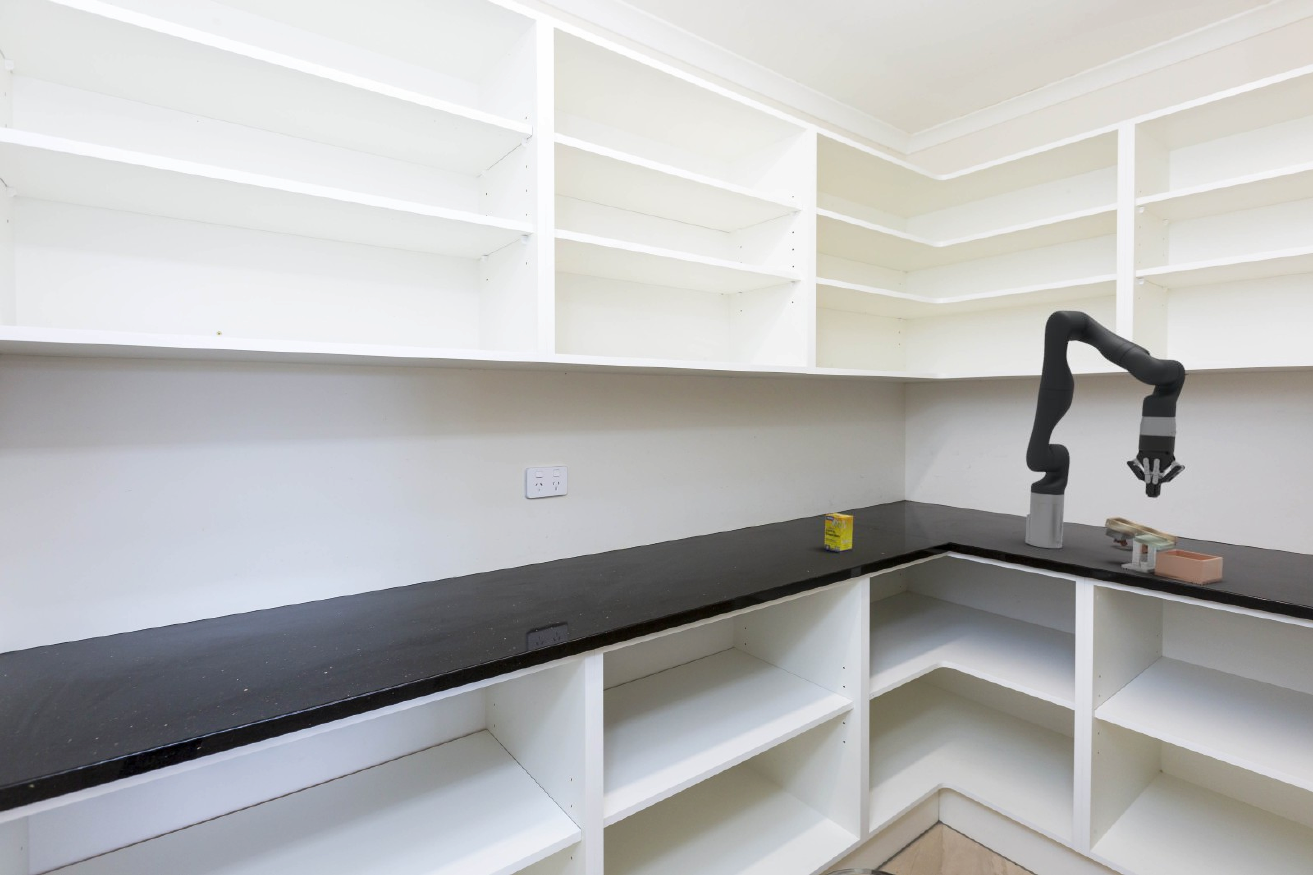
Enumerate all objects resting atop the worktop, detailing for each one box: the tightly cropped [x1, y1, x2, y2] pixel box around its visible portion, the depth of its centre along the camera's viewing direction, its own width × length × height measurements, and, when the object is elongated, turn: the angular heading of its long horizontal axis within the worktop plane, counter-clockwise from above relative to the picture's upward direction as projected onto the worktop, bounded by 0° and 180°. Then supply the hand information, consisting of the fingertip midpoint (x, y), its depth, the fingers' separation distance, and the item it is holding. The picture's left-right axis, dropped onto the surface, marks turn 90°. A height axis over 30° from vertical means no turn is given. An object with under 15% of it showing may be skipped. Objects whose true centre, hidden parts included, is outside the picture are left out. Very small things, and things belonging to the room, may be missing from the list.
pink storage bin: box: [1154, 548, 1224, 586], centre depth 159 cm, size 10×10×6 cm
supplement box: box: [824, 512, 854, 554], centre depth 185 cm, size 6×6×11 cm
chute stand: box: [1121, 533, 1157, 574], centre depth 168 cm, size 6×10×10 cm, turn 116°
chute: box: [1104, 516, 1179, 551], centre depth 167 cm, size 17×13×5 cm
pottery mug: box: [1113, 538, 1148, 554], centre depth 192 cm, size 12×10×8 cm
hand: (1152, 497), depth 163 cm, fingers closed
